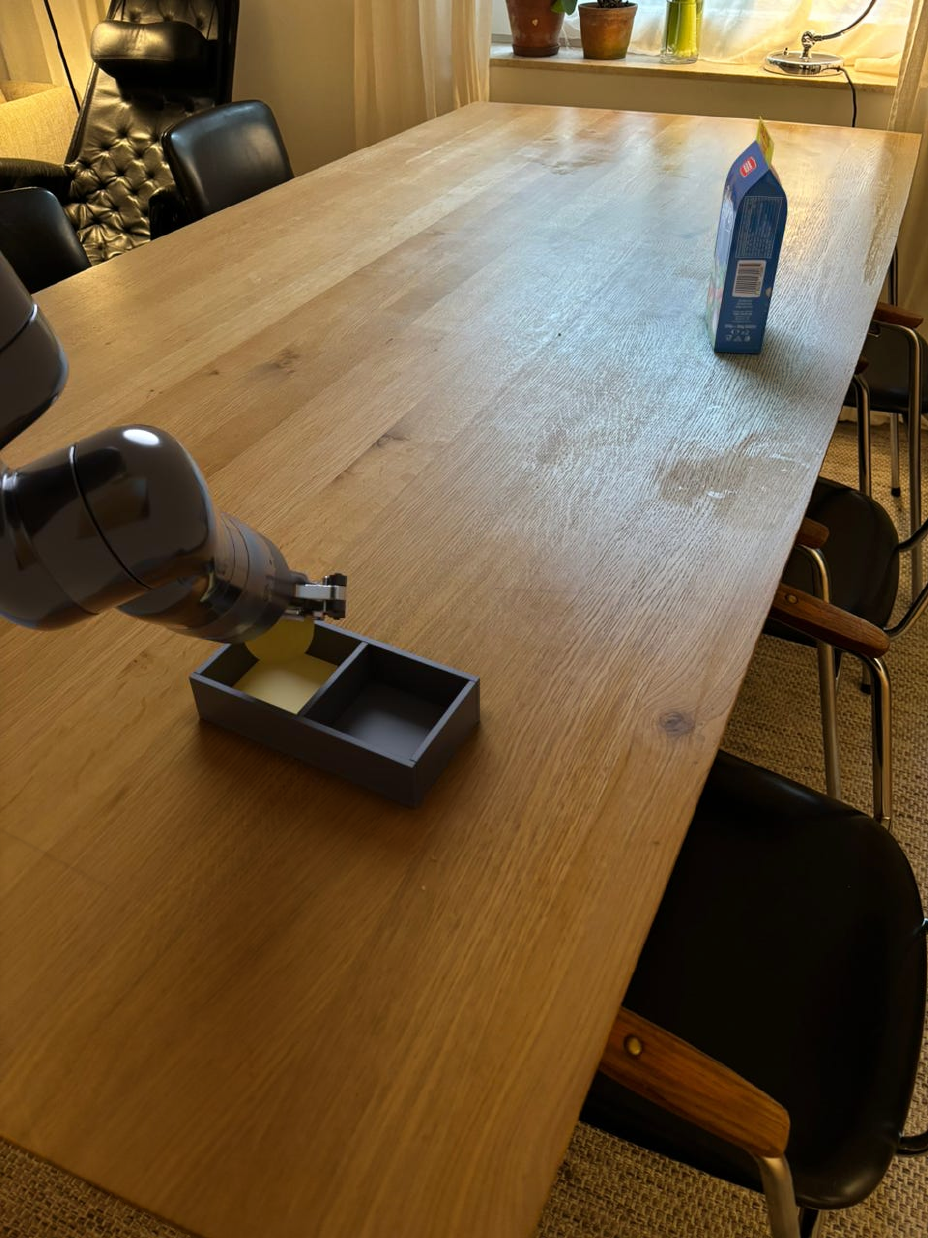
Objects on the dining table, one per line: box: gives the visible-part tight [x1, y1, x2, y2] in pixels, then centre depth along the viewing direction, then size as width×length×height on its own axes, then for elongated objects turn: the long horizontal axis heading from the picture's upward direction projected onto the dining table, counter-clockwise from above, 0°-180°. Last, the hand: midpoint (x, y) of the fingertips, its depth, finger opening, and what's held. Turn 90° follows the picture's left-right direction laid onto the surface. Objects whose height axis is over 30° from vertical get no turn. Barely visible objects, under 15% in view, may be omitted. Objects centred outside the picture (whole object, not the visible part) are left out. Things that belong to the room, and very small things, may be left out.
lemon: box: [244, 611, 314, 665], centre depth 75 cm, size 6×6×8 cm
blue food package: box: [704, 116, 789, 354], centre depth 123 cm, size 6×12×25 cm, turn 175°
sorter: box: [188, 620, 481, 810], centre depth 77 cm, size 10×20×4 cm, turn 62°
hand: (281, 605), depth 76 cm, fingers closed on lemon, 5 cm apart
